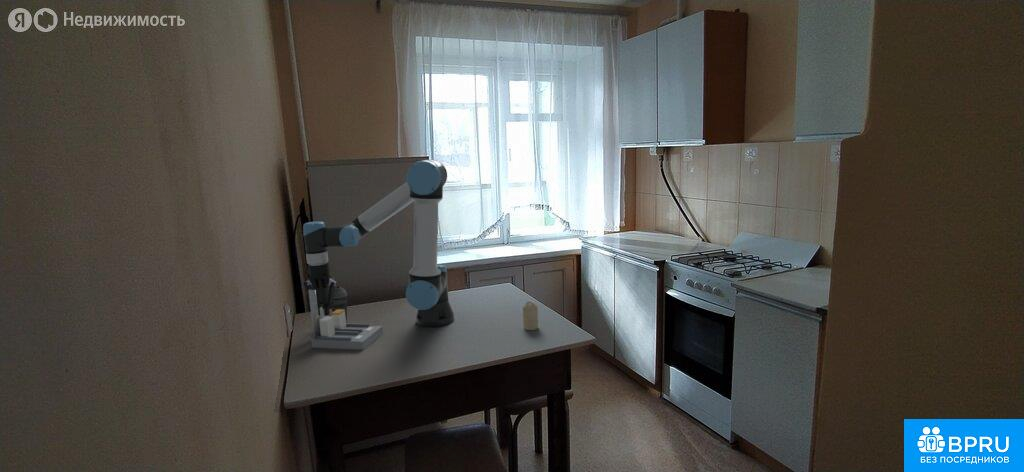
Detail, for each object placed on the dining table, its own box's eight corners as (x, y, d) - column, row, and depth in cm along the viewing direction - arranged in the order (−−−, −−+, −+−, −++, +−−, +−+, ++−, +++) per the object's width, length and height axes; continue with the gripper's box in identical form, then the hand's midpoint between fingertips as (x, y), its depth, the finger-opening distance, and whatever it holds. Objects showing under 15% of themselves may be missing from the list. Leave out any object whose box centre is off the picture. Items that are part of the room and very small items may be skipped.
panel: (382, 333, 182) (381, 323, 181) (363, 349, 168) (362, 339, 167) (335, 332, 186) (334, 322, 185) (312, 347, 172) (311, 337, 171)
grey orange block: (346, 326, 183) (344, 309, 182) (340, 330, 179) (338, 312, 178) (339, 326, 183) (337, 309, 182) (333, 330, 180) (331, 312, 178)
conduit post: (322, 336, 174) (316, 288, 170) (318, 339, 171) (312, 290, 168) (316, 336, 174) (310, 288, 171) (312, 338, 172) (306, 290, 169)
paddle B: (335, 334, 175) (333, 316, 174) (328, 338, 171) (326, 320, 170) (327, 334, 176) (325, 316, 175) (321, 338, 172) (319, 320, 171)
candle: (541, 327, 182) (540, 302, 180) (531, 331, 178) (530, 305, 176) (530, 324, 185) (529, 299, 184) (520, 328, 181) (519, 303, 180)
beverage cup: (344, 327, 190) (339, 279, 187) (327, 327, 192) (322, 279, 188) (353, 321, 197) (348, 274, 194) (337, 320, 199) (332, 274, 195)
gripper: (339, 260, 180) (346, 320, 184) (308, 260, 183) (315, 319, 187) (328, 265, 173) (335, 327, 177) (296, 265, 176) (303, 326, 180)
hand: (325, 323), depth 182 cm, fingers closed
